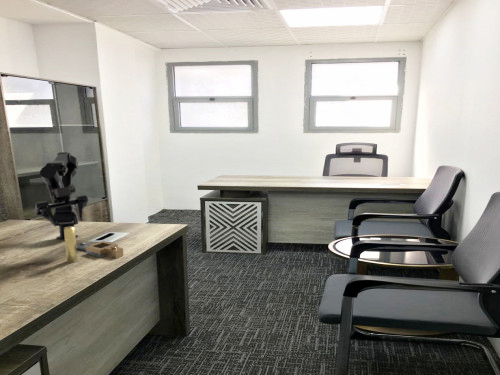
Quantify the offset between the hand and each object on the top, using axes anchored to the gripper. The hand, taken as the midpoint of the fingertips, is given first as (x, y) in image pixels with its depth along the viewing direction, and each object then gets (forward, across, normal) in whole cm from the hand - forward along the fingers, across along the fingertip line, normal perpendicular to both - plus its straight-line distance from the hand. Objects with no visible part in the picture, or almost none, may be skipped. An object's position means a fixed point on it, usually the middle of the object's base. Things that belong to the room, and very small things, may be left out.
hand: (68, 223), depth 144 cm
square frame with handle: (+13, +9, +6) cm, 16 cm away
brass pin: (+14, -3, +3) cm, 15 cm away
